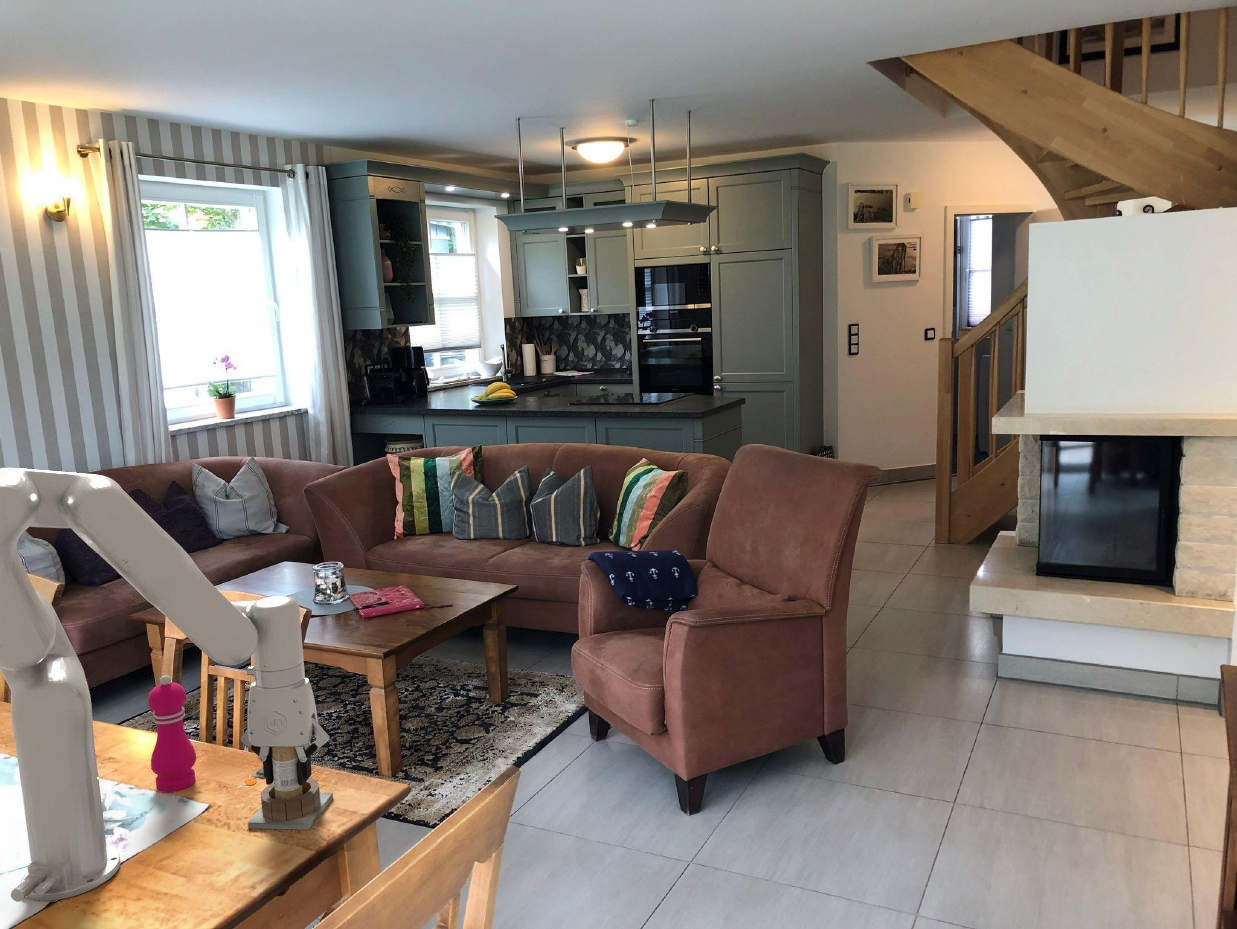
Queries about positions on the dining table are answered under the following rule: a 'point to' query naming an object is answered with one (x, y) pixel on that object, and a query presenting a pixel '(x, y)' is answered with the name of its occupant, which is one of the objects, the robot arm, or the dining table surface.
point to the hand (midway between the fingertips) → (288, 780)
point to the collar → (291, 808)
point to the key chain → (252, 781)
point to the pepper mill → (171, 738)
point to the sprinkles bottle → (285, 773)
